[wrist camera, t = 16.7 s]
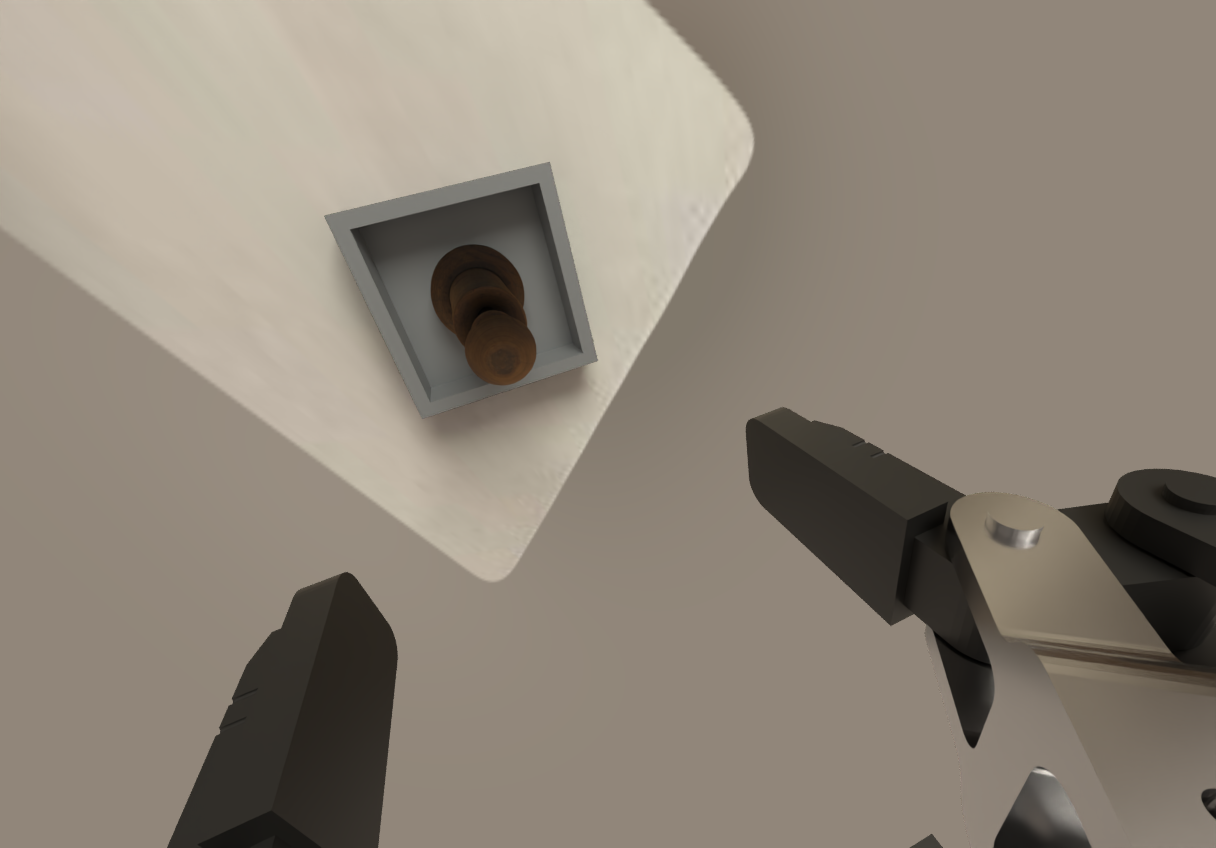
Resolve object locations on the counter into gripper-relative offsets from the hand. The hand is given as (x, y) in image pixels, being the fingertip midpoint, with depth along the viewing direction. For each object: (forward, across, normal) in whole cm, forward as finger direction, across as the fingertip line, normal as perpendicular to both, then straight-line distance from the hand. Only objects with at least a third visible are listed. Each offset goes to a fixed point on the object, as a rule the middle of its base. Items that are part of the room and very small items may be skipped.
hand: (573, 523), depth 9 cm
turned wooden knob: (+29, 0, 0) cm, 29 cm away
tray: (+30, 0, 0) cm, 30 cm away
